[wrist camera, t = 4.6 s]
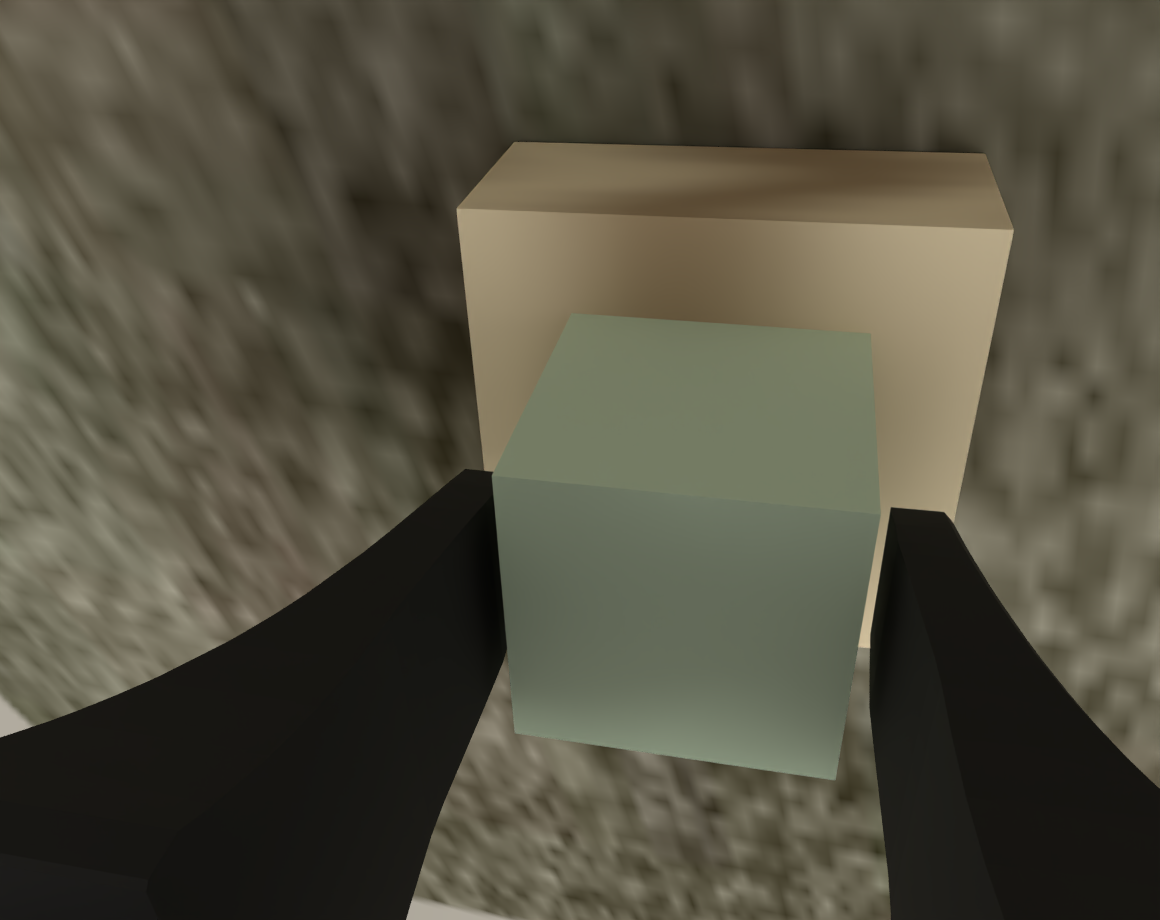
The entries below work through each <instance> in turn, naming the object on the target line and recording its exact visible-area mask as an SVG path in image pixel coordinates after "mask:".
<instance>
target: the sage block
mask: <svg viewBox="0 0 1160 920" xmlns="http://www.w3.org/2000/svg"><path fill="white" fill-rule="evenodd" d="M492 484H493V495H494V506H495V518H496V529H497V540H498V551H499V562H500V574H501V585H502V596H503V607H504V619H505V630H506V641H507V652H508V663H509V675H510V686H511V697H512V708H513V720H514V731H515V733H518V734H524V735H531V736H538V737H545V738H551V739H558V740H565V741H572V742H579V743H585V744H592V745H599V746H606V747H612V748H619V749H626V750H633V751H640V752H646V753H653V754H660V755H667V756H673V757H680V758H687V759H694V760H701V761H707V762H714V763H721V764H728V765H734V766H741V767H748V768H755V769H762V770H768V771H775V772H782V773H789V774H795V775H802V776H809V777H816V778H823V779H829V780H835V779H836V773H837V767H838V761H839V755H840V750H841V744H842V738H843V732H844V726H845V720H846V715H847V709H848V703H849V697H850V691H851V685H852V680H853V674H854V668H855V662H856V656H857V650H858V645H859V639H860V633H861V627H862V621H863V615H864V610H865V604H866V598H867V592H868V586H869V581H870V575H871V569H872V563H873V557H874V551H875V546H876V540H877V534H878V528H879V522H880V516H881V508H880V490H879V473H878V455H877V437H876V419H875V401H874V383H873V365H872V347H871V334H870V333H855V332H841V331H826V330H812V329H797V328H782V327H768V326H753V325H738V324H724V323H709V322H695V321H680V320H665V319H651V318H636V317H621V316H607V315H592V314H578V313H571V315H570V317H569V319H568V322H567V324H566V326H565V328H564V330H563V332H562V334H561V336H560V338H559V340H558V342H557V344H556V346H555V348H554V350H553V352H552V354H551V356H550V358H549V360H548V362H547V364H546V366H545V368H544V370H543V372H542V374H541V376H540V378H539V380H538V383H537V385H536V387H535V389H534V391H533V393H532V395H531V397H530V399H529V401H528V403H527V405H526V407H525V409H524V411H523V413H522V415H521V417H520V419H519V421H518V423H517V425H516V427H515V429H514V431H513V433H512V435H511V437H510V439H509V442H508V444H507V446H506V448H505V450H504V452H503V454H502V456H501V458H500V460H499V462H498V464H497V466H496V468H495V470H494V472H493V474H492Z"/></svg>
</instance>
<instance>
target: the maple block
mask: <svg viewBox="0 0 1160 920" xmlns="http://www.w3.org/2000/svg"><path fill="white" fill-rule="evenodd" d="M456 210H457V219H458V229H459V238H460V247H461V257H462V266H463V275H464V285H465V294H466V303H467V313H468V322H469V331H470V341H471V350H472V359H473V369H474V378H475V387H476V397H477V406H478V415H479V425H480V434H481V443H482V453H483V462H484V471H492V472H494V470H495V468H496V466H497V464H498V462H499V460H500V458H501V456H502V454H503V452H504V450H505V448H506V446H507V444H508V442H509V439H510V437H511V435H512V433H513V431H514V429H515V427H516V425H517V423H518V421H519V419H520V417H521V415H522V413H523V411H524V409H525V407H526V405H527V403H528V401H529V399H530V397H531V395H532V393H533V391H534V389H535V387H536V385H537V383H538V380H539V378H540V376H541V374H542V372H543V370H544V368H545V366H546V364H547V362H548V360H549V358H550V356H551V354H552V352H553V350H554V348H555V346H556V344H557V342H558V340H559V338H560V336H561V334H562V332H563V330H564V328H565V326H566V324H567V322H568V319H569V317H570V315H571V313H578V314H592V315H607V316H621V317H636V318H651V319H665V320H680V321H695V322H709V323H724V324H738V325H753V326H768V327H782V328H797V329H812V330H826V331H841V332H855V333H870V334H871V347H872V365H873V383H874V401H875V419H876V437H877V455H878V473H879V490H880V508H881V516H880V522H879V528H878V534H877V540H876V546H875V551H874V557H873V563H872V569H871V575H870V581H869V586H868V592H867V598H866V604H865V610H864V615H863V621H862V627H861V633H860V639H859V645H858V647H864V648H870V632H871V626H872V620H873V614H874V607H875V601H876V595H877V589H878V583H879V577H880V570H881V564H882V558H883V552H884V546H885V540H886V533H887V527H888V521H889V515H890V509H891V507H895V508H906V509H917V510H929V511H940V512H945V513H946V515H947V516H948V517H949V518H950V519H951V520H952V522H953V523H954V518H955V513H956V509H957V504H958V499H959V494H960V489H961V484H962V479H963V475H964V470H965V465H966V460H967V455H968V450H969V446H970V441H971V436H972V431H973V426H974V421H975V417H976V412H977V407H978V402H979V397H980V392H981V387H982V383H983V378H984V373H985V368H986V363H987V358H988V354H989V349H990V344H991V339H992V334H993V329H994V324H995V320H996V315H997V310H998V305H999V300H1000V295H1001V291H1002V286H1003V281H1004V276H1005V271H1006V266H1007V261H1008V257H1009V252H1010V247H1011V242H1012V237H1013V232H1014V229H1013V226H1012V223H1011V221H1010V218H1009V215H1008V213H1007V210H1006V207H1005V205H1004V202H1003V200H1002V197H1001V194H1000V192H999V189H998V186H997V184H996V181H995V178H994V176H993V173H992V171H991V168H990V165H989V163H988V160H987V157H986V155H985V154H981V153H941V152H901V151H861V150H821V149H781V148H741V147H701V146H662V145H622V144H582V143H542V142H514V143H513V144H512V145H511V146H510V147H509V149H508V150H507V151H506V152H505V153H504V154H503V156H502V157H501V158H500V159H499V160H498V161H497V162H496V164H495V165H494V166H493V167H492V168H491V169H490V170H489V172H488V173H487V174H486V175H485V176H484V177H483V178H482V180H481V181H480V182H479V183H478V184H477V185H476V187H475V188H474V189H473V190H472V191H471V192H470V193H469V195H468V196H467V197H466V198H465V199H464V200H463V201H462V203H461V204H460V205H459V206H458V207H457V208H456Z"/></svg>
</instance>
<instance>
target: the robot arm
mask: <svg viewBox="0 0 1160 920" xmlns="http://www.w3.org/2000/svg"><path fill="white" fill-rule="evenodd" d="M492 474H493V472H492V471H480V470H469V469H465V470H464V471H462V472H461V473H460V474H458V475H457V476H456V477H455V478H453V479H452V480H451V481H450V482H449V483H447V484H446V485H445V486H444V487H443V488H441V489H440V490H439V491H438V492H437V493H435V494H434V495H433V496H432V497H431V498H429V499H428V500H427V501H426V502H425V503H423V504H422V505H421V506H420V507H419V508H417V509H416V510H415V511H414V512H413V513H411V514H410V515H409V516H408V517H407V518H405V519H404V520H403V521H402V522H401V523H399V524H398V525H397V526H396V527H395V528H393V529H392V530H391V531H390V532H388V533H387V534H386V535H385V536H383V537H382V538H381V539H380V540H378V541H377V542H376V543H375V544H373V545H372V546H371V547H370V548H368V549H367V550H366V551H365V552H363V553H362V554H361V555H359V556H358V557H356V558H355V559H354V560H352V561H351V562H350V563H348V564H347V565H345V566H344V567H343V568H341V569H340V570H339V571H337V572H336V573H334V574H333V575H332V576H330V577H329V578H327V579H326V580H325V581H323V582H322V583H321V584H319V585H318V586H316V587H315V588H314V589H312V590H311V591H310V592H308V593H307V594H305V595H304V596H302V597H301V598H299V599H298V600H296V601H295V602H293V603H292V604H290V605H289V606H287V607H285V608H284V609H282V610H281V611H279V612H277V613H276V614H274V615H273V616H271V617H269V618H268V619H266V620H264V621H263V622H261V623H259V624H257V625H256V626H254V627H252V628H251V629H249V630H247V631H246V632H244V633H242V634H241V635H239V636H237V637H235V638H233V639H232V640H230V641H228V642H226V643H224V644H222V645H220V646H218V647H216V648H214V649H212V650H210V651H208V652H206V653H205V654H203V655H201V656H199V657H197V658H195V659H193V660H191V661H189V662H187V663H185V664H183V665H181V666H179V667H177V668H175V669H173V670H171V671H169V672H167V673H165V674H163V675H161V676H159V677H157V678H154V679H152V680H150V681H148V682H145V683H143V684H141V685H139V686H136V687H134V688H132V689H129V690H127V691H125V692H122V693H120V694H118V695H116V696H113V697H111V698H108V699H106V700H103V701H101V702H98V703H96V704H93V705H91V706H88V707H86V708H83V709H81V710H78V711H76V712H73V713H70V714H68V715H65V716H62V717H60V718H57V719H54V720H51V721H49V722H46V723H43V724H40V725H37V726H34V727H31V728H28V729H25V730H22V731H19V732H16V733H13V734H10V735H7V736H4V737H1V738H0V920H406V918H407V914H408V910H409V907H410V904H411V901H412V897H413V894H414V891H415V888H416V884H417V881H418V878H419V874H420V871H421V868H422V865H423V861H424V858H425V855H426V851H427V848H428V845H429V842H430V838H431V835H432V833H433V830H434V827H435V825H436V822H437V819H438V817H439V814H440V811H441V808H442V806H443V803H444V801H445V798H446V796H447V794H448V791H449V789H450V787H451V784H452V782H453V780H454V777H455V775H456V773H457V770H458V768H459V766H460V763H461V761H462V759H463V756H464V754H465V751H466V749H467V747H468V744H469V742H470V740H471V737H472V735H473V733H474V730H475V728H476V726H477V723H478V721H479V719H480V716H481V714H482V712H483V709H484V707H485V704H486V702H487V700H488V697H489V695H490V692H491V690H492V688H493V685H494V683H495V680H496V678H497V675H498V673H499V671H500V668H501V666H502V663H503V660H504V657H505V653H506V650H507V641H506V630H505V619H504V607H503V596H502V585H501V574H500V562H499V551H498V540H497V529H496V518H495V506H494V495H493V484H492ZM870 717H871V726H872V735H873V744H874V753H875V762H876V771H877V780H878V788H879V797H880V806H881V815H882V823H883V832H884V841H885V849H886V858H887V867H888V877H889V892H890V906H891V920H1160V789H1159V788H1158V787H1157V786H1156V785H1155V784H1154V783H1153V782H1152V781H1150V780H1149V779H1148V778H1147V777H1146V776H1145V775H1144V774H1143V773H1142V772H1141V771H1140V770H1139V769H1138V768H1137V767H1136V766H1135V765H1134V764H1133V763H1132V762H1131V761H1130V760H1129V759H1128V758H1127V757H1126V756H1125V755H1124V754H1123V753H1122V752H1121V751H1120V750H1119V749H1118V748H1117V747H1116V746H1115V745H1114V744H1113V742H1112V741H1111V740H1110V739H1109V738H1108V737H1107V736H1106V735H1105V734H1104V733H1103V732H1102V731H1101V730H1100V729H1099V728H1098V727H1097V725H1096V724H1095V723H1094V722H1093V721H1092V720H1091V719H1090V718H1089V716H1088V715H1087V714H1086V713H1085V712H1084V711H1083V710H1082V708H1081V707H1080V706H1079V705H1078V704H1077V703H1076V701H1075V700H1074V699H1073V698H1072V697H1071V695H1070V694H1069V693H1068V692H1067V691H1066V689H1065V688H1064V687H1063V686H1062V684H1061V683H1060V682H1059V681H1058V679H1057V678H1056V677H1055V676H1054V674H1053V673H1052V672H1051V671H1050V669H1049V668H1048V667H1047V666H1046V664H1045V663H1044V662H1043V661H1042V659H1041V658H1040V657H1039V655H1038V654H1037V653H1036V651H1035V650H1034V649H1033V647H1032V646H1031V645H1030V643H1029V642H1028V641H1027V639H1026V638H1025V636H1024V635H1023V633H1022V632H1021V631H1020V629H1019V628H1018V626H1017V625H1016V623H1015V622H1014V621H1013V619H1012V618H1011V616H1010V615H1009V613H1008V612H1007V611H1006V609H1005V608H1004V606H1003V605H1002V603H1001V602H1000V600H999V599H998V597H997V596H996V594H995V593H994V591H993V590H992V588H991V587H990V585H989V584H988V582H987V580H986V579H985V577H984V575H983V574H982V572H981V571H980V569H979V567H978V566H977V564H976V563H975V561H974V559H973V558H972V556H971V554H970V552H969V551H968V549H967V547H966V546H965V544H964V542H963V540H962V538H961V537H960V535H959V533H958V531H957V529H956V527H955V526H954V524H953V522H952V520H951V519H950V518H949V517H948V516H947V515H946V513H945V512H940V511H929V510H917V509H906V508H895V507H891V509H890V515H889V521H888V527H887V533H886V540H885V546H884V552H883V558H882V564H881V570H880V577H879V583H878V589H877V595H876V601H875V607H874V614H873V620H872V626H871V632H870Z"/></svg>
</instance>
